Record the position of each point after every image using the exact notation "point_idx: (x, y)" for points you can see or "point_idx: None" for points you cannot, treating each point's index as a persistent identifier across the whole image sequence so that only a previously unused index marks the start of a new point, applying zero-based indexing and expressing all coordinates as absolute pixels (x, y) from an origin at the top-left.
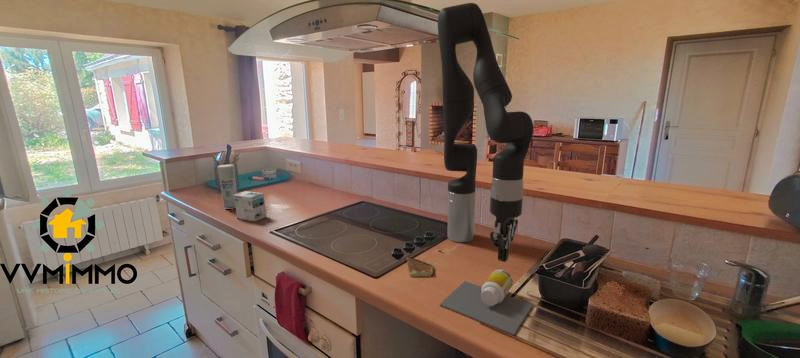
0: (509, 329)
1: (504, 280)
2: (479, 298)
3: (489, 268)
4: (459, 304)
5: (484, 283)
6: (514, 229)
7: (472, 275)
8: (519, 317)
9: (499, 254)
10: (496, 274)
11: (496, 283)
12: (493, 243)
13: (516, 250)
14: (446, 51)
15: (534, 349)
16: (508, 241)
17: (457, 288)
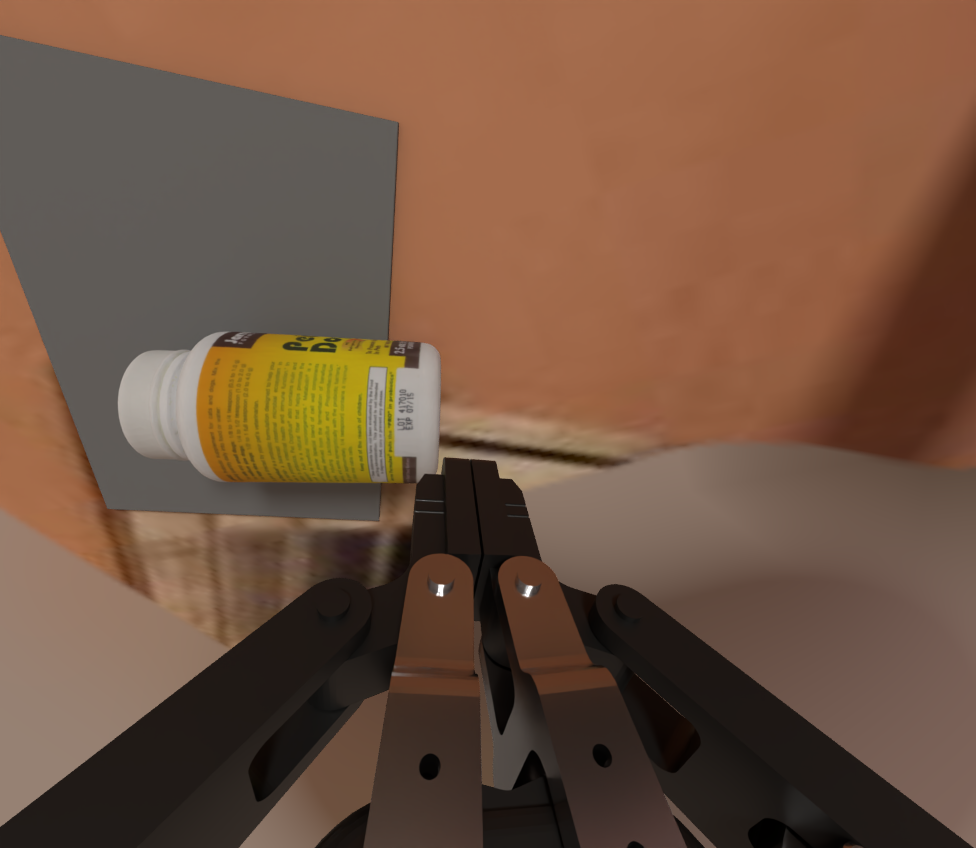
0: (119, 491)
1: (315, 481)
2: (250, 301)
3: (662, 248)
4: (77, 194)
5: (200, 372)
6: (699, 822)
7: (526, 153)
8: (241, 501)
9: (415, 516)
10: (331, 436)
11: (208, 466)
12: (216, 664)
13: (924, 347)
14: None
15: (107, 566)
16: (488, 694)
17: (254, 97)
